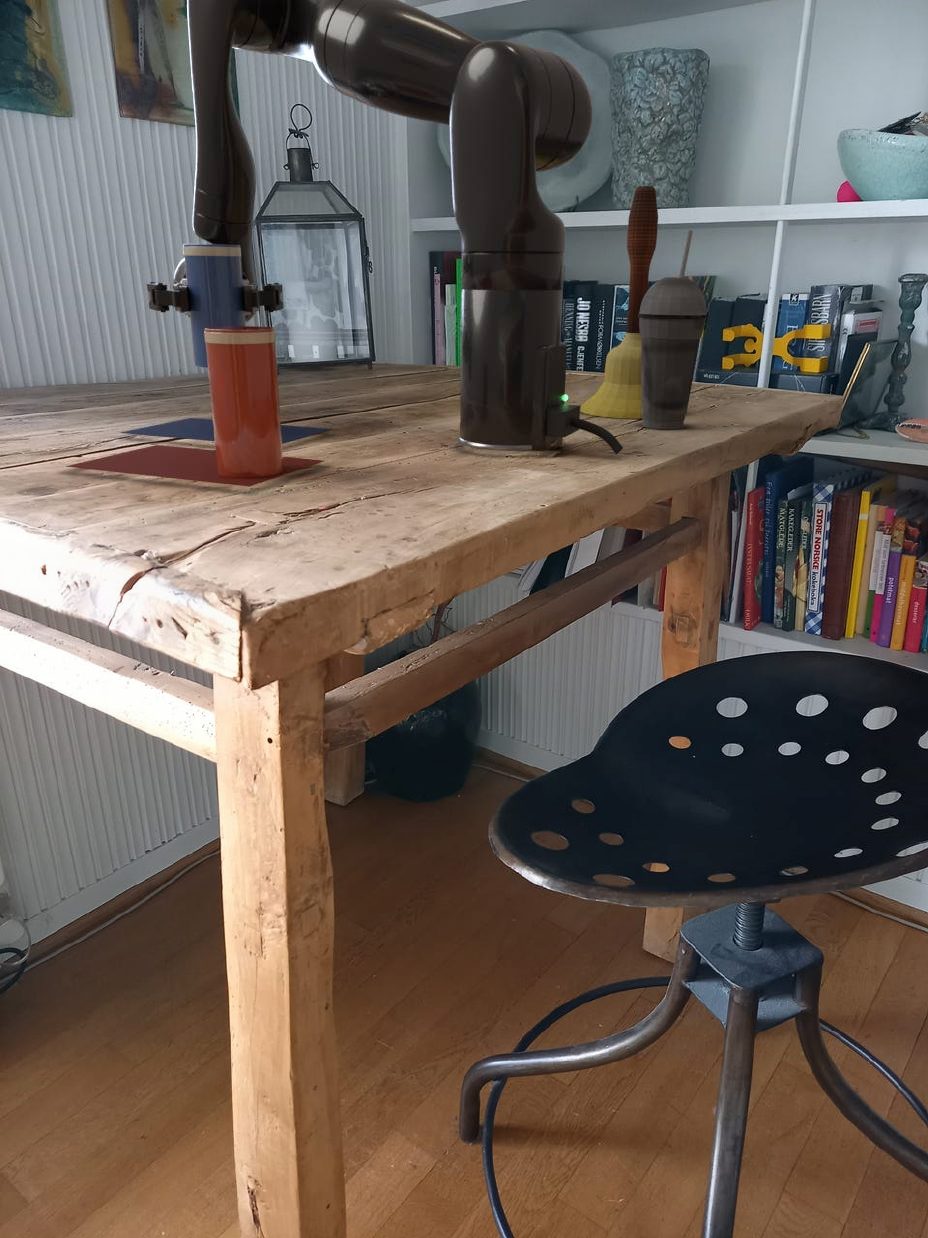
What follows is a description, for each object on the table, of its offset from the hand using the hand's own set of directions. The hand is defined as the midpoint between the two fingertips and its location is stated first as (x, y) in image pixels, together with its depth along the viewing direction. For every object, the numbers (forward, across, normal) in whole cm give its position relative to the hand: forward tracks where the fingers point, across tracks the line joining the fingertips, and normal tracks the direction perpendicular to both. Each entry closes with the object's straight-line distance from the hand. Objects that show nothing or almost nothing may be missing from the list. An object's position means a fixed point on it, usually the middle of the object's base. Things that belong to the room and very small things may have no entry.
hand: (216, 299), depth 85 cm
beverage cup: (0, +47, +13) cm, 49 cm away
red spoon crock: (+19, +2, +12) cm, 23 cm away
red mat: (+14, -3, +13) cm, 20 cm away
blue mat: (-2, 0, +13) cm, 13 cm away
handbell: (-11, +48, +13) cm, 51 cm away
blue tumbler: (-3, 0, +6) cm, 7 cm away
